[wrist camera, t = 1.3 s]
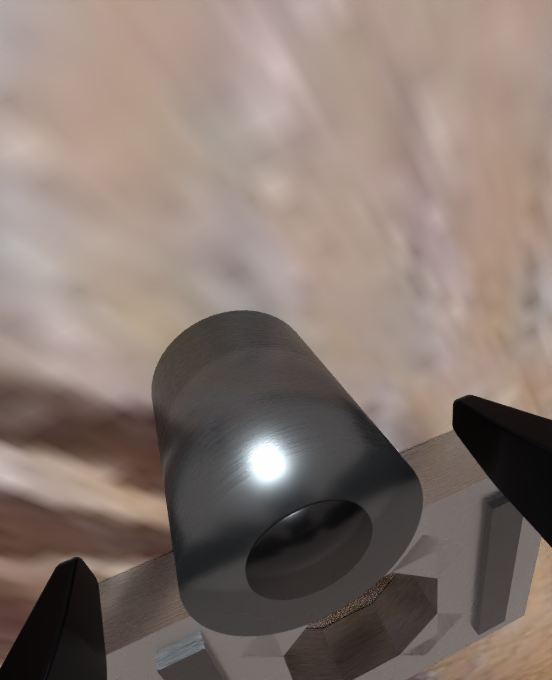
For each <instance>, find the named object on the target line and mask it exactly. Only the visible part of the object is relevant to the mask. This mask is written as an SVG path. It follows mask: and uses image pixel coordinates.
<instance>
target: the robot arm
mask: <svg viewBox="0 0 552 680" xmlns="http://www.w3.org/2000/svg"><path fill="white" fill-rule="evenodd" d="M452 425H453V429H454V431H455V433H456V435H457V436H458V437H459V439H460V440H461V441H462V443H463V444H464V445H465V447H466V448H467V449H468V451H469V452H470V453H471V455H472V456H473V457H474V459H475V460H476V461H477V463H478V464H479V465H480V467H481V468H482V469H483V471H484V472H485V473H486V475H487V476H488V477H489V479H490V480H491V481H492V482H493V484H494V485H495V486H496V487H497V488H498V489H499V491H500V492H501V493H502V494H503V495H504V496H505V497H506V498H507V499H508V500H509V502H510V503H511V504H512V505H513V506H514V507H515V508H516V509H517V510H518V511H519V512H520V513H521V515H522V516H523V517H524V518H525V519H526V520H527V521H528V522H529V523H530V524H531V525H532V527H533V528H534V529H535V530H536V531H537V532H538V533H539V534H540V535H541V536H542V537H543V538H544V540H545V541H546V542H547V543H548V544H549V545H550V546H551V547H552V420H550V419H547V418H544V417H540V416H537V415H534V414H531V413H528V412H525V411H521V410H518V409H515V408H512V407H509V406H505V405H502V404H499V403H496V402H493V401H489V400H486V399H483V398H480V397H477V396H473V395H466V396H463V397H461V398H459V399H456V400H455V401H454V403H453V420H452ZM0 680H107V661H106V650H105V640H104V630H103V621H102V611H101V602H100V592H99V585H98V582H97V579H96V577H95V576H94V574H93V573H92V572H91V570H90V569H89V568H88V566H87V565H86V564H85V562H84V561H83V560H82V559H81V558H80V557H74V558H72V559H70V560H67V561H65V562H62V563H60V564H59V565H58V566H57V567H56V568H55V570H54V572H53V573H52V575H51V577H50V579H49V581H48V583H47V584H46V586H45V588H44V590H43V592H42V593H41V595H40V597H39V599H38V601H37V603H36V604H35V606H34V608H33V610H32V612H31V613H30V615H29V617H28V619H27V621H26V623H25V624H24V626H23V628H22V630H21V632H20V633H19V635H18V637H17V639H16V641H15V643H14V644H13V646H12V648H11V650H10V652H9V653H8V655H7V657H6V659H5V661H4V662H3V664H2V666H1V668H0Z"/></svg>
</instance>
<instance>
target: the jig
mask: <svg viewBox="0 0 552 680" xmlns="http://www.w3.org/2000/svg"><path fill="white" fill-rule="evenodd" d="M400 455H401V456H402V457H403V458H404V459H405V461H406V462H407V463H408V464H409V465H410V466H411V468H412V469H413V470H414V471H415V473H416V475H417V477H418V478H419V481H420V484H421V487H422V492H423V510H422V514H421V519H420V522H419V525H418V528H417V530H416V533H415V535H414V537H413V539H412V540H411V542H410V544H409V546H408V547H407V549H406V550H405V552H404V553H403V555H402V556H401V557H400V559H399V560H398V561H397V562H396V564H395V565H394V566H393V567H392V568H391V569H390V570H389V571H388V573H387V574H386V575H388V574H390V573H392V572H394V573H398V574H397V575H396V576H395V577H394V579H393V580H392V581H391V582H390V583H389V585H388V586H387V587H386V588H385V589H384V591H383V592H382V593H381V594H380V595H379V596H378V598H377V599H376V600H375V601H374V602H373V604H371V605H369V606H367V607H365V608H363V609H361V610H359V611H357V612H355V613H353V614H351V615H349V616H347V617H345V618H343V619H341V620H339V621H337V622H335V623H333V624H331V625H329V626H327V627H325V628H323V629H306V627H307V626H308V625H309V624H308V625H305V626H302V627H299V628H296V629H293V630H289V631H286V632H281V633H276V634H271V635H263V636H247V637H244V636H232V635H227V634H222V633H218V632H215V631H212V630H210V629H208V628H206V627H204V626H202V625H200V624H199V623H198V622H197V621H195V620H194V619H193V618H192V617H191V616H190V615H189V613H188V612H187V611H186V609H185V608H184V606H183V603H182V601H181V599H180V594H179V589H178V582H177V575H176V568H175V561H174V553H173V552H171V553H169V554H166V555H164V556H162V557H159V558H157V559H155V560H152V561H150V562H148V563H145V564H143V565H141V566H139V567H136V568H134V569H132V570H129V571H127V572H125V573H122V574H120V575H118V576H115V577H113V578H111V579H108V580H106V581H104V582H101V583H99V584H98V585H99V592H100V602H101V611H102V621H103V630H104V640H105V650H106V661H107V680H407V679H409V678H410V677H412V676H414V675H416V674H418V673H419V672H421V671H423V670H425V669H427V668H429V667H430V666H432V665H434V664H436V663H438V662H440V661H441V660H443V659H445V658H447V657H449V656H451V655H452V654H454V653H456V652H458V651H460V650H462V649H463V648H465V647H467V646H469V645H471V644H473V643H474V642H476V641H478V640H480V639H482V638H483V637H485V636H487V635H489V634H491V633H493V632H494V631H496V630H498V629H500V628H502V627H504V626H505V625H507V624H509V623H511V622H513V621H515V620H516V619H518V618H520V617H522V616H524V614H525V609H526V605H527V600H528V596H529V591H530V587H531V582H532V577H533V573H534V568H535V564H536V559H537V555H538V550H539V546H540V541H541V535H540V534H539V533H538V532H537V531H536V530H535V529H534V528H533V527H532V525H531V524H530V523H529V522H528V521H527V520H526V519H525V518H524V517H523V516H522V515H521V513H520V512H519V511H518V510H517V509H516V508H515V507H514V506H513V505H512V504H511V503H510V502H509V500H508V499H507V498H506V497H505V496H504V495H503V494H502V493H501V492H500V491H499V489H498V488H497V487H496V486H495V485H494V484H493V482H492V481H491V480H490V479H489V477H488V476H487V475H486V473H485V472H484V471H483V469H482V468H481V467H480V465H479V464H478V463H477V461H476V460H475V459H474V457H473V456H472V455H471V453H470V452H469V451H468V449H467V448H466V447H465V445H464V444H463V443H462V441H461V440H460V439H459V437H458V436H457V435H456V433H455V431H452V432H449V433H447V434H445V435H443V436H440V437H438V438H436V439H433V440H431V441H429V442H426V443H424V444H422V445H419V446H417V447H415V448H412V449H410V450H408V451H405V452H403V453H401V454H400ZM386 575H385V576H386Z"/></svg>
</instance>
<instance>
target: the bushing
mask: <svg viewBox="0 0 552 680" xmlns="http://www.w3.org/2000/svg"><path fill="white" fill-rule="evenodd" d="M152 402H153V409H154V417H155V424H156V431H157V438H158V445H159V453H160V460H161V467H162V474H163V481H164V489H165V496H166V503H167V510H168V517H169V525H170V532H171V539H172V546H173V553H174V561H175V568H176V575H177V582H178V589H179V594H180V599H181V601H182V603H183V606H184V608H185V609H186V611H187V612H188V613H189V615H190V616H191V617H192V618H193V619H194V620H195V621H197V622H198V623H199V624H200V625H202V626H204V627H206V628H208V629H210V630H212V631H215V632H218V633H222V634H227V635H232V636H244V637H247V636H263V635H271V634H276V633H281V632H286V631H289V630H293V629H296V628H299V627H302V626H305V625H308V624H310V623H313V622H315V621H318V620H320V619H322V618H324V617H326V616H328V615H330V614H332V613H334V612H336V611H338V610H340V609H341V608H343V607H345V606H346V605H348V604H349V603H351V602H353V601H354V600H356V599H357V598H358V597H360V596H361V595H362V594H364V593H365V592H366V591H368V590H369V589H370V588H371V587H373V586H374V585H375V584H376V583H377V582H378V581H379V580H380V579H381V578H382V577H384V576H385V575H386V574H387V573H388V571H389V570H390V569H391V568H392V567H393V566H394V565H395V564H396V562H397V561H398V560H399V559H400V557H401V556H402V555H403V553H404V552H405V550H406V549H407V547H408V546H409V544H410V542H411V540H412V539H413V537H414V535H415V533H416V530H417V528H418V525H419V522H420V519H421V514H422V510H423V492H422V487H421V484H420V481H419V478H418V477H417V475H416V473H415V471H414V470H413V469H412V468H411V466H410V465H409V464H408V463H407V462H406V461H405V459H404V458H403V457H402V456H401V455H400V454H399V452H398V451H397V450H396V449H395V448H394V446H393V445H392V444H391V443H390V442H389V441H388V439H387V438H386V437H385V436H384V435H383V434H382V432H381V431H380V430H379V429H378V428H377V427H376V425H375V424H374V423H373V422H372V421H371V420H370V418H369V417H368V416H367V415H366V414H365V412H364V411H363V410H362V409H361V408H360V407H359V405H358V404H357V403H356V402H355V401H354V400H353V398H352V397H351V396H350V395H349V394H348V393H347V391H346V390H345V389H344V388H343V387H342V386H341V384H340V383H339V382H338V381H337V380H336V379H335V377H334V376H333V375H332V374H331V373H330V371H329V370H328V369H327V368H326V367H325V366H324V364H323V363H322V362H321V361H320V360H319V359H318V357H317V356H316V355H315V354H314V353H313V352H312V350H311V349H310V348H309V347H308V346H307V345H306V343H305V342H304V341H303V340H302V339H301V338H300V336H299V335H298V334H297V333H296V332H295V331H294V330H293V328H291V327H290V326H289V325H288V324H286V323H285V322H283V321H282V320H280V319H278V318H276V317H274V316H271V315H269V314H265V313H261V312H257V311H248V310H245V311H230V312H224V313H220V314H216V315H213V316H210V317H208V318H205V319H203V320H201V321H199V322H197V323H195V324H194V325H192V326H190V327H189V328H188V329H186V330H185V331H183V332H182V333H181V334H180V335H179V336H178V337H177V338H175V339H174V340H173V342H172V343H171V344H170V345H169V346H168V347H167V349H166V350H165V352H164V353H163V355H162V356H161V358H160V360H159V362H158V364H157V366H156V369H155V372H154V376H153V381H152Z"/></svg>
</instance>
